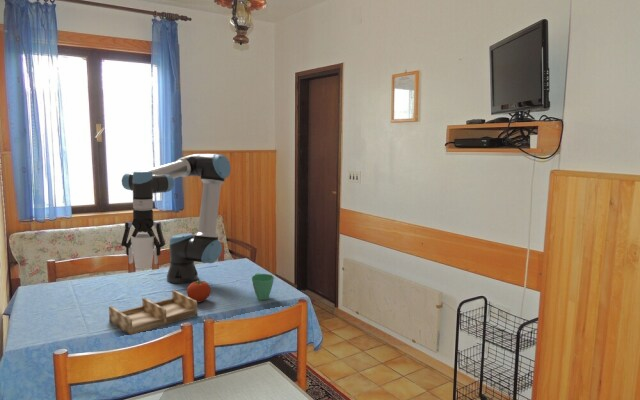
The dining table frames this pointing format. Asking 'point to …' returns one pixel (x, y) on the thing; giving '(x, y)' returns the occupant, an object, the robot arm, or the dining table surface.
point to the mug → (262, 285)
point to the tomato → (198, 291)
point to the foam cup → (143, 250)
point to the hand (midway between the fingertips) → (143, 263)
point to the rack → (153, 313)
